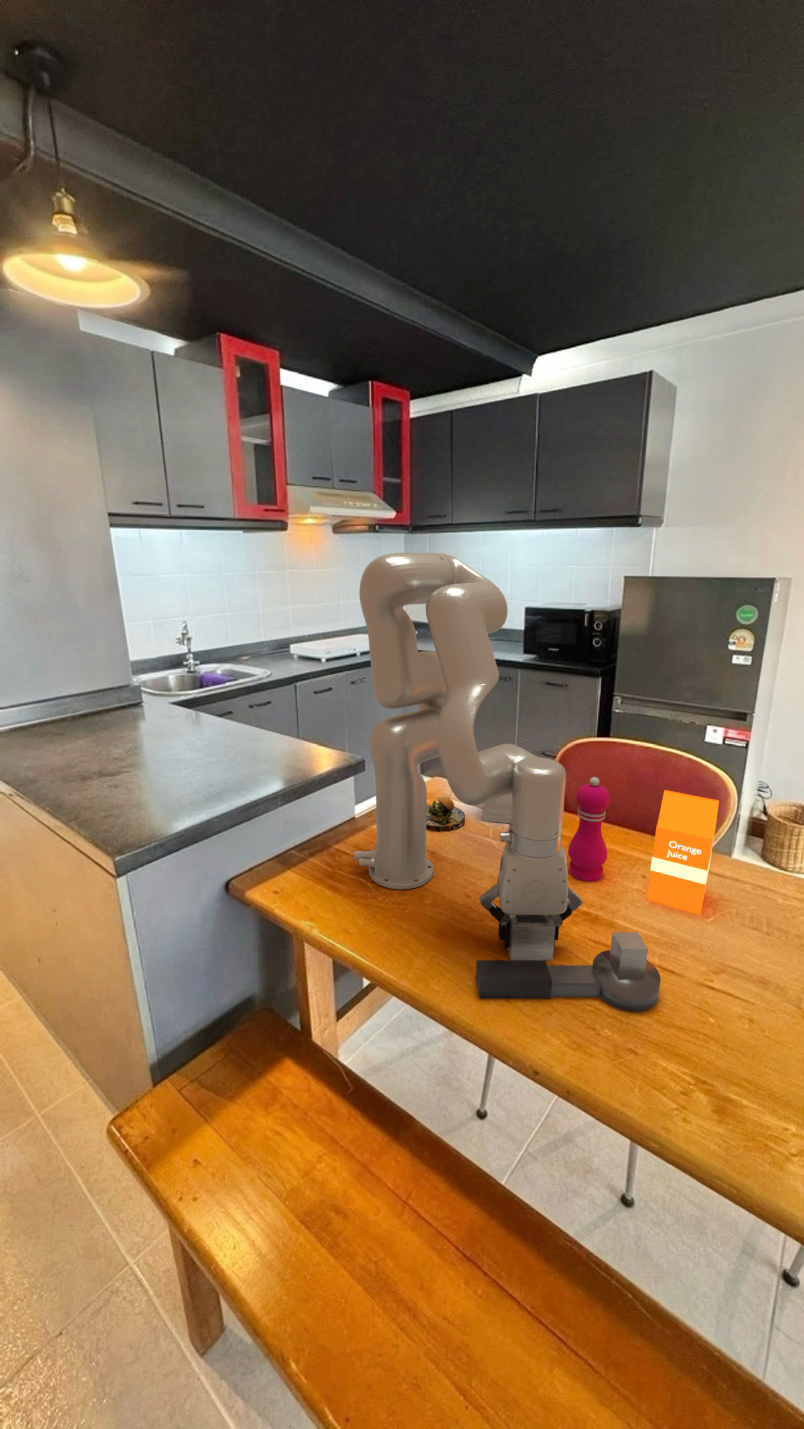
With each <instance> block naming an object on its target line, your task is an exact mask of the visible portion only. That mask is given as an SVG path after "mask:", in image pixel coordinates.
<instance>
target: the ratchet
mask: <svg viewBox="0 0 804 1429" xmlns="http://www.w3.org/2000/svg"><path fill="white" fill-rule="evenodd" d="M611 933H612V935H611V942H610V949H607V950H603V951H601V952H599V953H598V954H596V956H595V957H594V958H593V960H592V964H589V965H585V964H584V965H581V964H580V965H578V964H576V965H575V964H574V965H573V964H571V965H570V964H569V965H567V964H566V965H565V964H564V965H562V964H561V965H558V964H557V965H555V964H554V965H553V964H547V960H510V959H505V960H504V959H491V960H490V959H489V960H488V959H485V960H483V959H481V960H480V959H479V960H478V959H477V960H476V963H475V981H476V988H477V992H478V998H479V999H481V1000H482V999H483V1000H484V999H489V1000H495V999H497V1000H500V999H501V1000H502V999H503V1000H505V999H506V1000H509V999H510V1000H511V999H512V1000H514V999H515V1000H517V999H518V1000H520V999H521V1000H522V999H523V1000H524V999H525V1000H529V999H530V1000H535V999H536V1000H537V999H538V1000H539V999H540V1000H551V999H552V998H599V999H600V1000H601V1001H603V1002H604V1003H606V1004H607V1005H609V1006H611V1007H613V1008H615V1009H618V1010H621V1011H623V1012H630V1013H642V1012H646V1011H650V1010H652V1009H653V1008H654V1007H655V1006H656V1005H657V1003H658V1001H659V1000H658V999H659V994H660V987H661V975H660V972H659V970H658V969H657V968H656V966H655V965H654V964H653V963H651V961H649V960H648V950H649V948H648V947H647V945H646V943H645V941H644V940H643V939H642V936H641V935H640V934H639V932H637V931H635V932H633V931H631V932H630V931H627V932H625V931H623V932H621V931H618V932H617V931H615V932H611Z"/></svg>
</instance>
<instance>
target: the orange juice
mask: <svg viewBox="0 0 804 1429" xmlns="http://www.w3.org/2000/svg"><path fill="white" fill-rule="evenodd" d="M719 805H720V800H719V799H712V798H709V797H702V796H698V795H697V796H696V795H692V794H687V793H682V792H678V791H672V790H666V789H664V791H663V794H662V801H661V805H660V810H659V815H658V820H657V824H656V827H655V828H656V829H655V836H654V842H653V849H652V850H653V851H652V856H651V864H650V874H649V880H648V886H647V887H648V888H647V895H646V896H647V898H646V900H647V901H650V902H654V903H657V904H660V905H661V904H662V905H664V906H668V907H671V908H672V907H673V908H675V909H677V910H678V909H679V910H681V911H685V912H688V913H692V914H696V915H697V916H701V913H702V908H703V904H704V899H705V894H706V888H707V882H708V875H709V870H710V864H711V860H712V853H713V852H712V851H713V846H714V840H715V833H716V826H717V818H718V812H719Z"/></svg>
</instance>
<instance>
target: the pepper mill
mask: <svg viewBox="0 0 804 1429" xmlns="http://www.w3.org/2000/svg"><path fill="white" fill-rule="evenodd" d="M575 797H576V798H575V800H576V803H577V804H578V807H577V816H578V817H579V823H578V828H577V830H576V831H575V833H574V836H573V837H572V839H571V840H570V843H569V845H568V849H567V853H568V857H569V859H570V861H569V863H568V864H569V866H568V871H569V874H571V876H572V877H574V878H575V879H578V880H580V881H584V882H597V881H599V880H601V879H602V877H603V873H604V866H603V865H604V864H605V863H606V861H607V859H608V849H607V845H606V842H605V840H604V838H603V835H602V824H603V820H605V818H606V809H607V808H608V807H609V805H610V802H611V797H610V794H609V791H608V789H606V787H604V785H600V779H599V778H598V777H597V776H592V777H591V778H590V779H589V783H586V784H582V785H581V786H580V787H579V788H578V790H577V791H576V795H575Z"/></svg>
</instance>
